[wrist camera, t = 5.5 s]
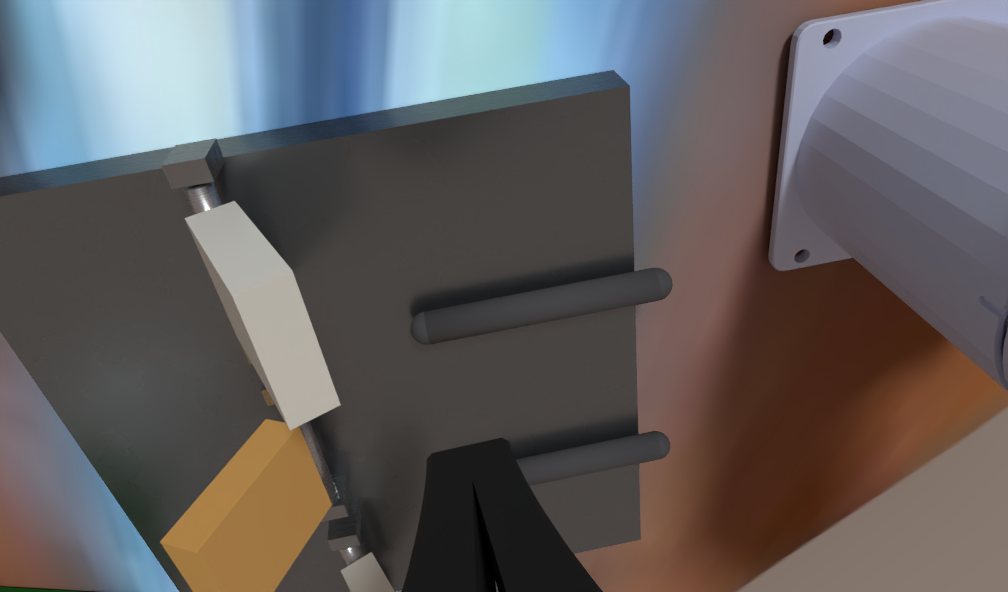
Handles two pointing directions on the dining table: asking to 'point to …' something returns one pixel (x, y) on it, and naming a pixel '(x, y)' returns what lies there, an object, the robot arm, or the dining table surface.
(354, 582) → the ivory paddle
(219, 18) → the dining table surface
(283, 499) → the orange paddle
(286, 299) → the ivory paddle
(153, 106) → the dining table surface
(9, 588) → the milk carton
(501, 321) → the cords
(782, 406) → the dining table surface
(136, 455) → the panel
